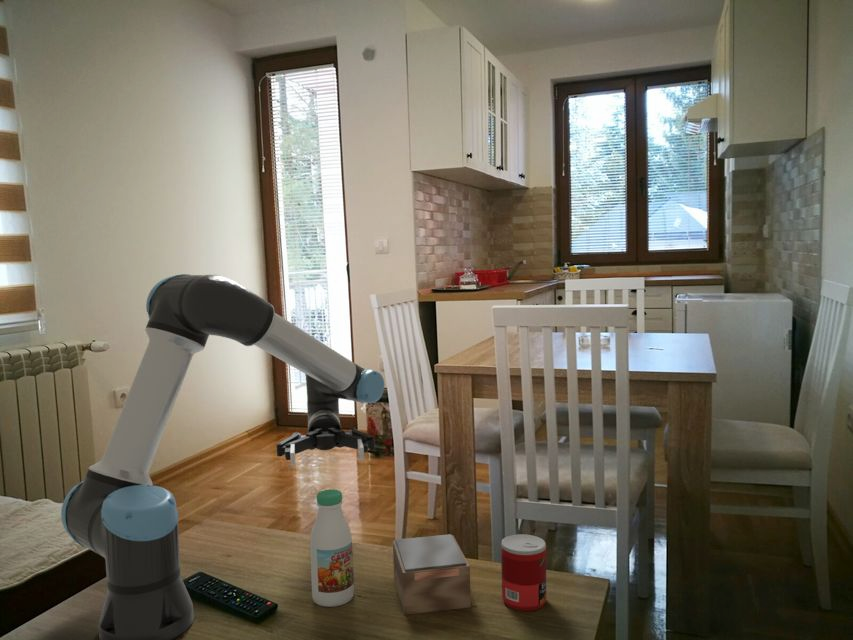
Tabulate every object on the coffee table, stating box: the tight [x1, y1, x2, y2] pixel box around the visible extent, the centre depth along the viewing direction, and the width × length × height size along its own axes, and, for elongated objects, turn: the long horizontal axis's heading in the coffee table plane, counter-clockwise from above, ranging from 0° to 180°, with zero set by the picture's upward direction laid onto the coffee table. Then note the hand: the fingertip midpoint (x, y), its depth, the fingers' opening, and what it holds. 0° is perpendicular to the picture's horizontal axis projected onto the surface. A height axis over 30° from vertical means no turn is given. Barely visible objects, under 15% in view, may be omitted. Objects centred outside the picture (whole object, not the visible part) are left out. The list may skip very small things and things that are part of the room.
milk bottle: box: [309, 489, 355, 608], centre depth 124 cm, size 8×8×20 cm
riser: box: [392, 533, 472, 616], centre depth 125 cm, size 12×14×8 cm
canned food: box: [500, 533, 547, 612], centre depth 121 cm, size 8×8×11 cm
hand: (327, 457), depth 132 cm, fingers open, 13 cm apart
